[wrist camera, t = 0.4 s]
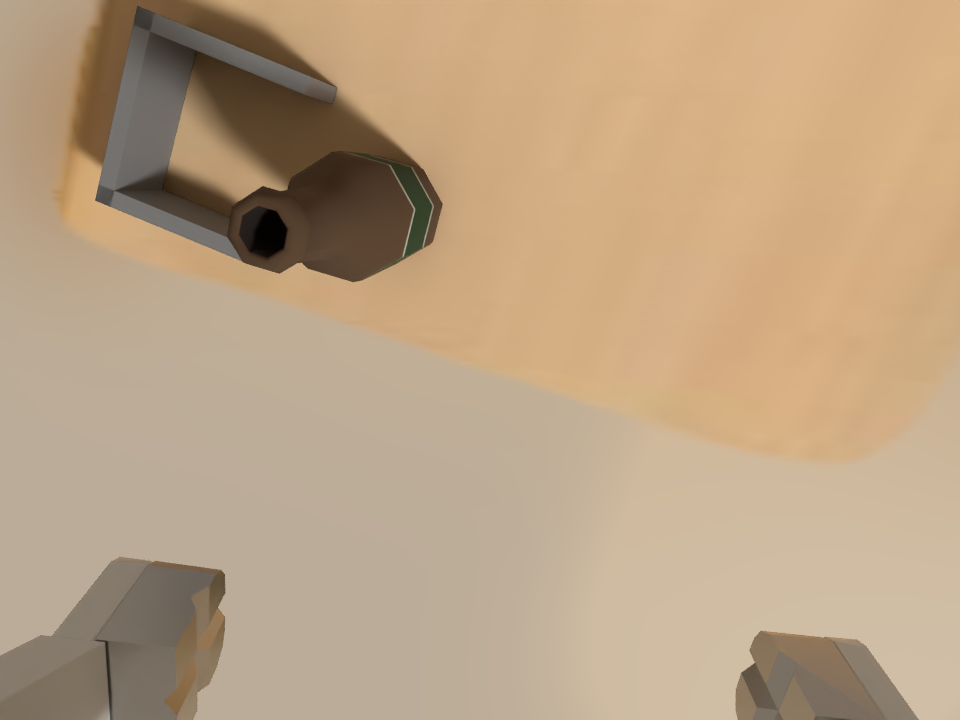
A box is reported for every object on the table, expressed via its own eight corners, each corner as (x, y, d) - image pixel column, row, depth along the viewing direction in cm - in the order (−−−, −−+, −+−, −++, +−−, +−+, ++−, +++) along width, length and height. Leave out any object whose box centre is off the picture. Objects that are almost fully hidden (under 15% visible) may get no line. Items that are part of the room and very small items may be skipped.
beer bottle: (337, 163, 52) (156, 149, 29) (437, 150, 51) (332, 124, 28) (354, 266, 54) (196, 329, 31) (451, 255, 53) (363, 312, 30)
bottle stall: (186, 25, 51) (137, 6, 45) (337, 87, 50) (308, 75, 45) (144, 198, 54) (95, 200, 49) (285, 256, 54) (252, 265, 48)
